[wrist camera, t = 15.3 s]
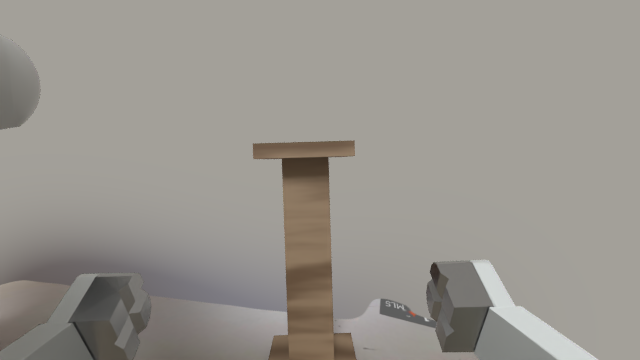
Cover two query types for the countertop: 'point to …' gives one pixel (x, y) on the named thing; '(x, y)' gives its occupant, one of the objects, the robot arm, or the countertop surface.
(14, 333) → the countertop surface
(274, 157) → the walnut stand
